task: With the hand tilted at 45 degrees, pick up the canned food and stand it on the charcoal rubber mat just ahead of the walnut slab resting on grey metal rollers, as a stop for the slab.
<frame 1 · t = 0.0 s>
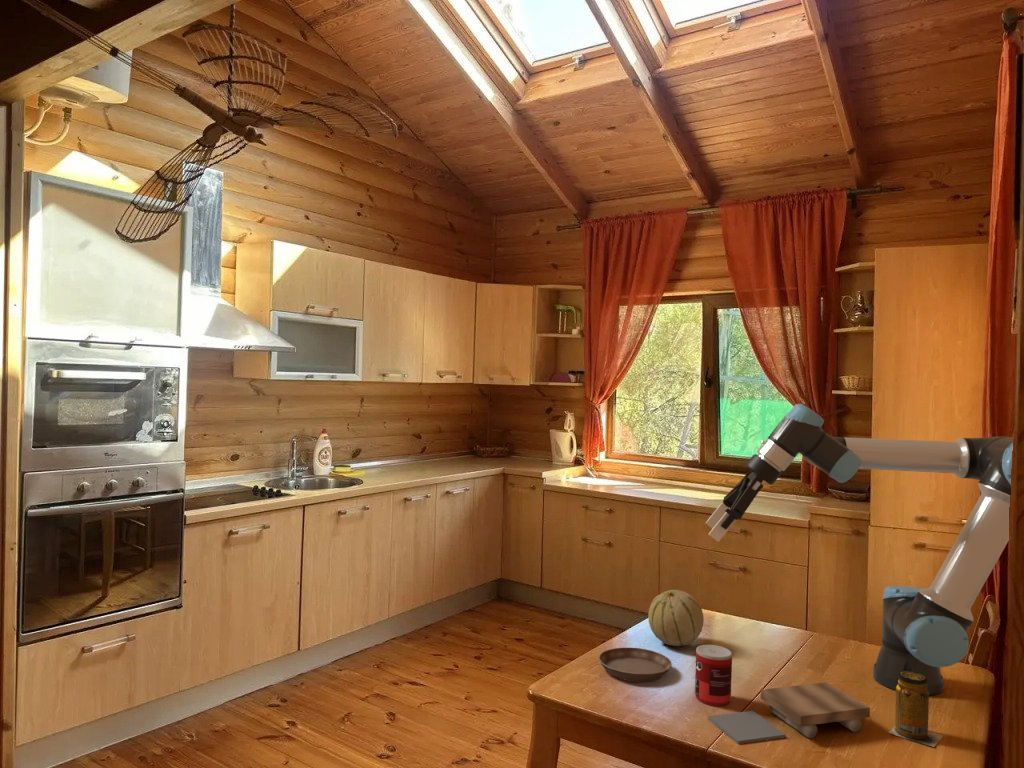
hand: (711, 532, 175), 36 cm above the table, tool tilted 35°, fingers open, 13 cm apart
canned food: (712, 700, 167), on the table
cantaloupe: (674, 645, 201), on the table
condiment: (915, 736, 152), on the table
walnut slab: (813, 721, 157), on the table
rubber mat: (745, 728, 153), on the table
plant saucer: (634, 672, 182), on the table
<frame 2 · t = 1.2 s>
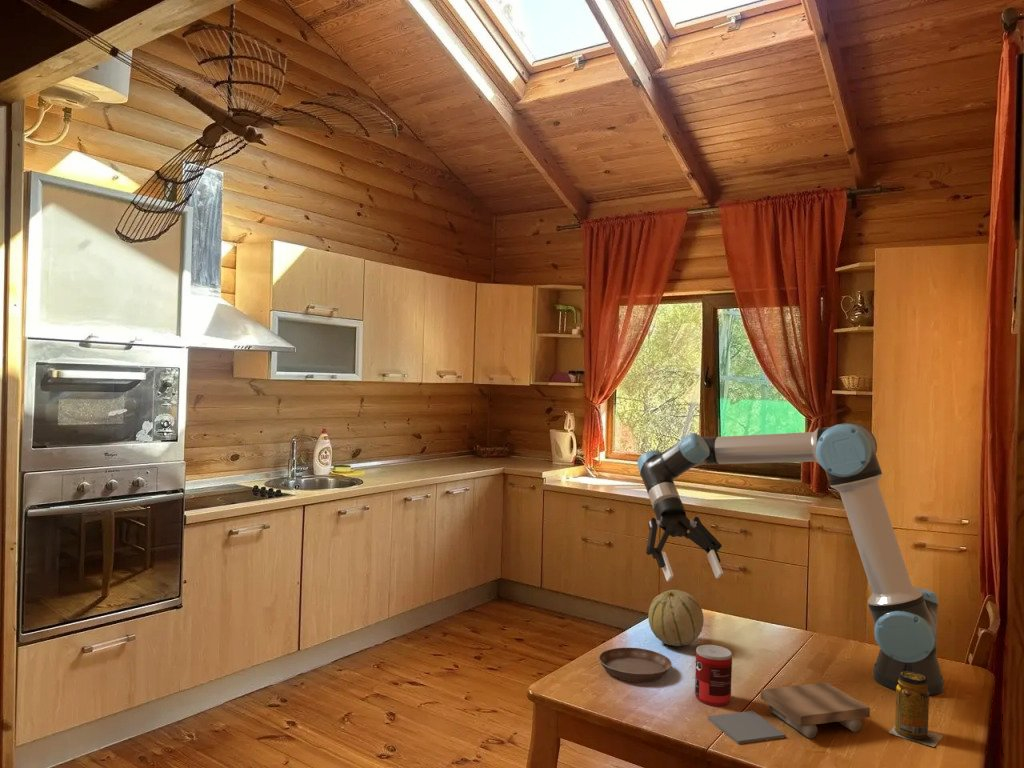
hand: (695, 577, 179), 24 cm above the table, tool tilted 45°, fingers open, 13 cm apart
nothing on the table moved.
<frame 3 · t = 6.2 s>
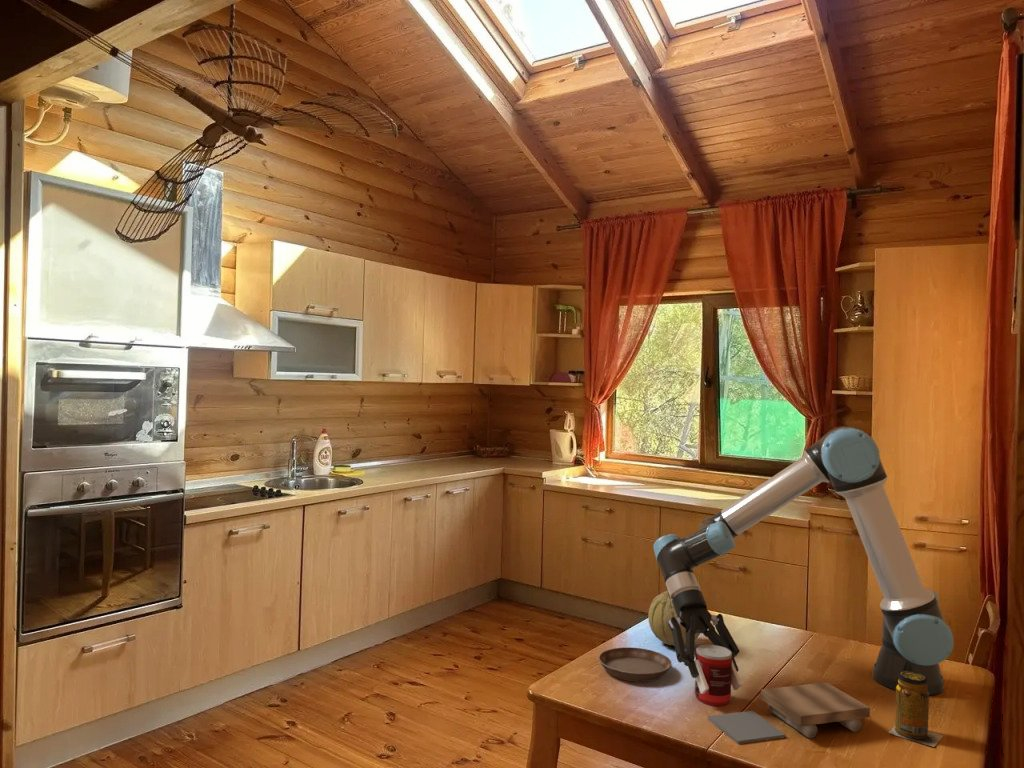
hand: (721, 689, 164), 4 cm above the table, tool tilted 45°, fingers closed on canned food, 8 cm apart
canned food: (712, 699, 167), on the table, touching gripper
everything else where it was.
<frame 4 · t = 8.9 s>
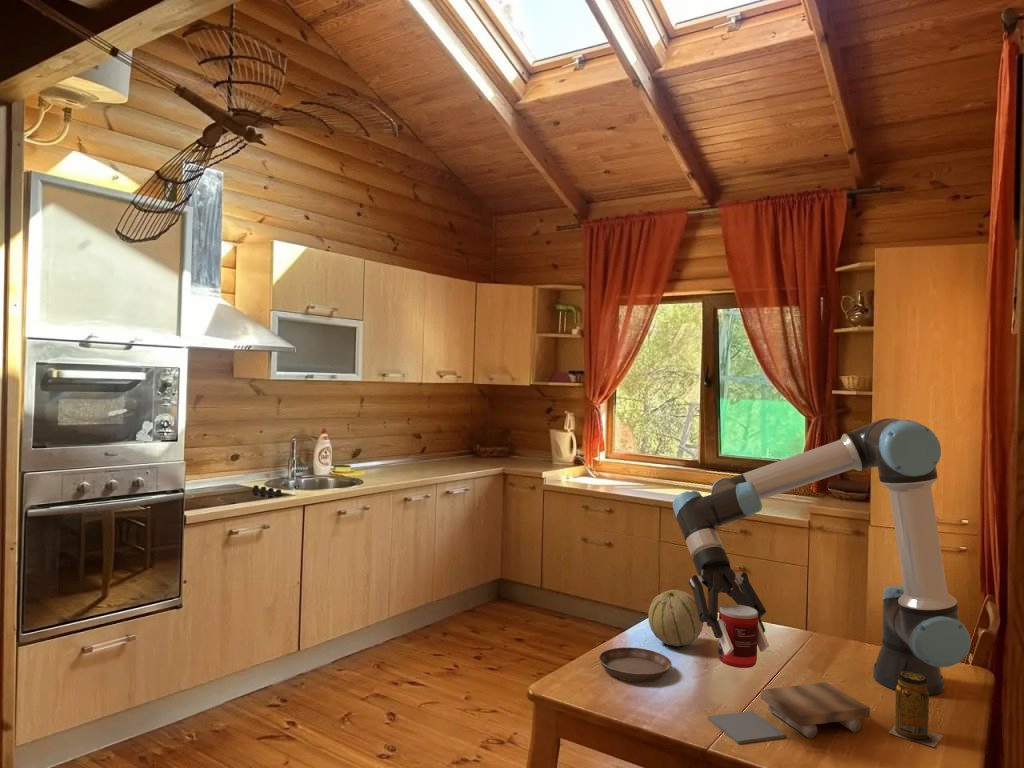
hand: (747, 650, 153), 16 cm above the table, tool tilted 45°, fingers closed on canned food, 8 cm apart
canned food: (737, 662, 156), point 13 cm above the table, touching gripper
everything else where it was.
when the fingers open (6 cm above the table, at t = 11.7 s): canned food drops 1 cm, resting on rubber mat.
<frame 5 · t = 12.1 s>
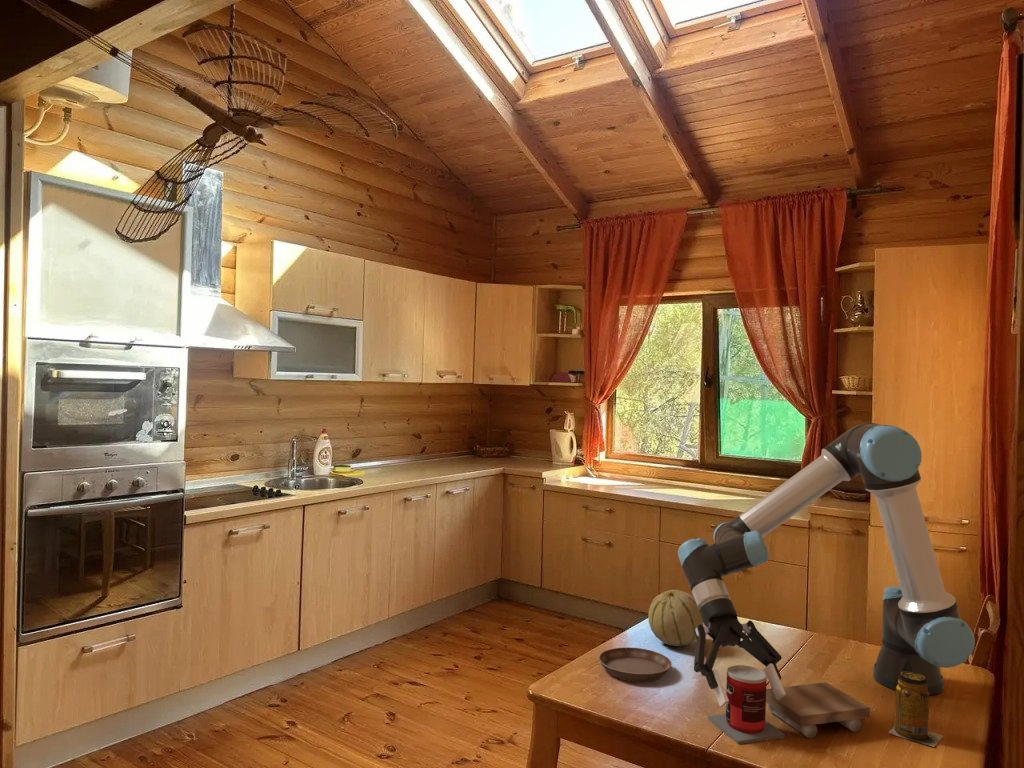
hand: (753, 700, 151), 7 cm above the table, tool tilted 45°, fingers open, 13 cm apart
canned food: (745, 726, 153), resting on rubber mat
everything else where it was.
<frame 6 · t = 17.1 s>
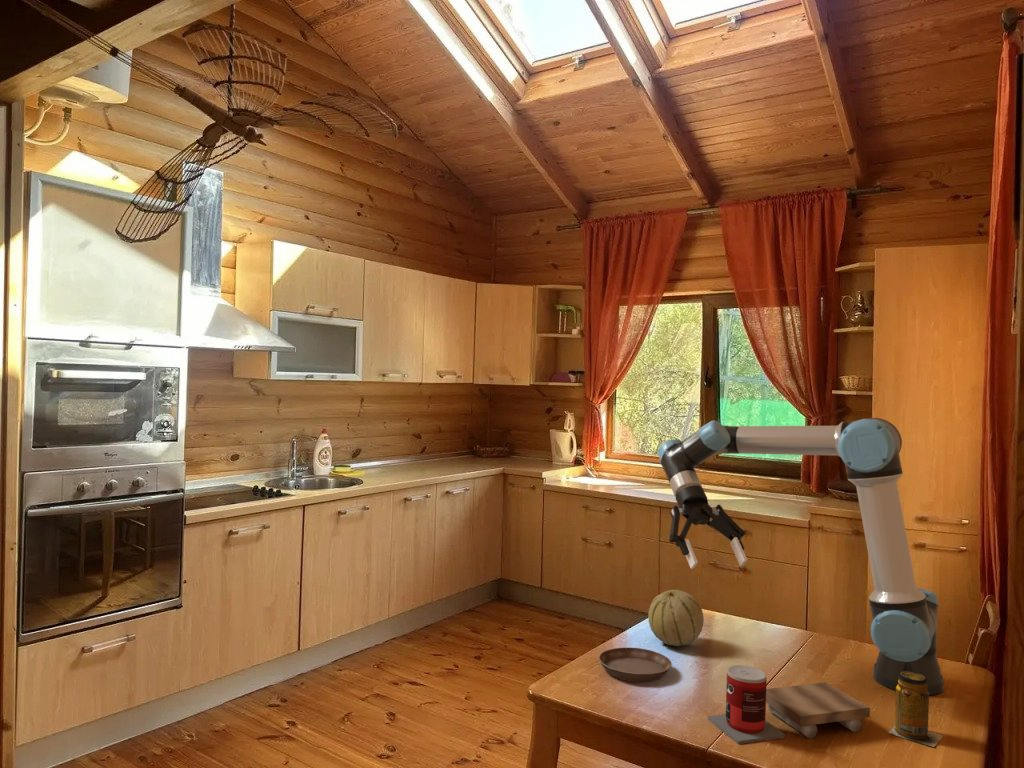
hand: (719, 564, 178), 28 cm above the table, tool tilted 45°, fingers open, 13 cm apart
nothing on the table moved.
at the end: canned food inside the target area on the rubber mat (0.1 cm from its centre), point 0.4 cm above the rubber mat's base; canned food tilted 0°; the gripper is holding nothing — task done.
